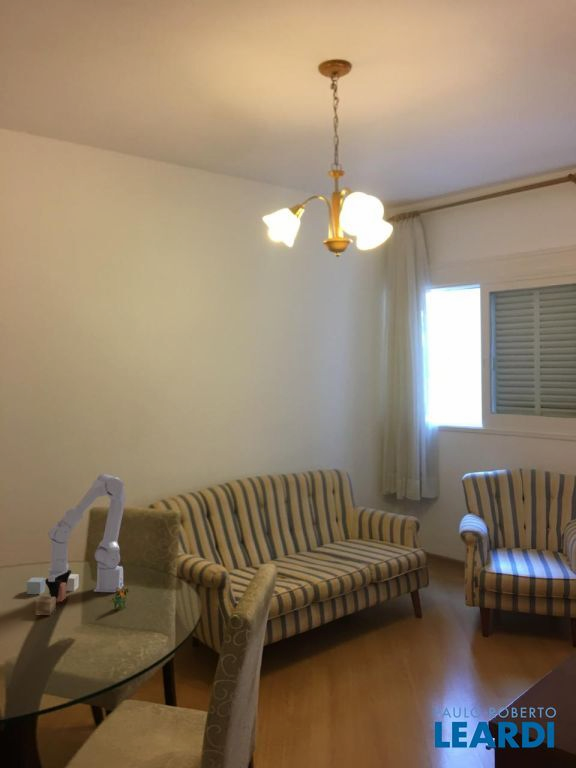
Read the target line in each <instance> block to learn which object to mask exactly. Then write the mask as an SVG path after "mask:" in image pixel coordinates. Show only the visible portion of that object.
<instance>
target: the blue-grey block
mask: <svg viewBox="0 0 576 768" xmlns="http://www.w3.org/2000/svg"><path fill="white" fill-rule="evenodd" d="M46 579H47V578H46V577H31V578H30V579H29V580H27V581H26V595H27V594H41V593H42V594H43V593H44V592H45V591H46V583H45V580H46ZM42 594H41V595H42Z"/></svg>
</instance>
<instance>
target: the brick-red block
mask: <svg viewBox="0 0 576 768" xmlns="http://www.w3.org/2000/svg"><path fill="white" fill-rule="evenodd" d="M66 598H67V591H66V583H64V582H61V585H60V588H59V594H58V598H57V599H56V600H59V601H63V600H64V599H65V600H66ZM65 600H64V601H65ZM64 601H63V602H64Z"/></svg>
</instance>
